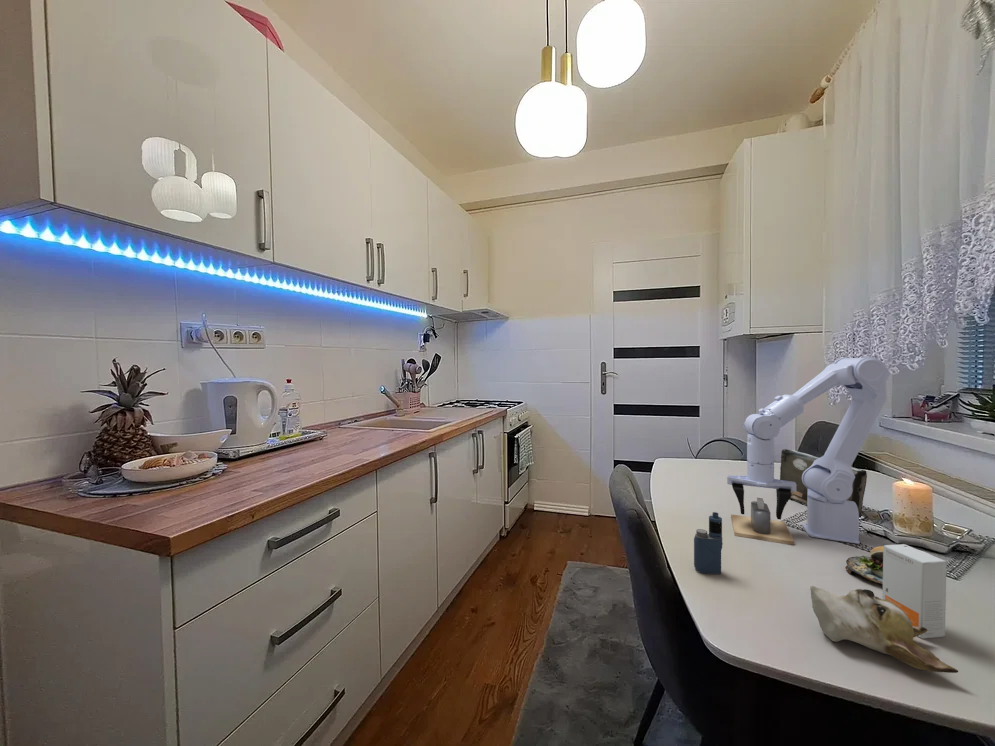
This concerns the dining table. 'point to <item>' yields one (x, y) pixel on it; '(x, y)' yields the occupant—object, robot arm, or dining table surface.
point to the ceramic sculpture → (873, 626)
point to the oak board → (777, 534)
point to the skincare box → (916, 586)
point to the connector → (760, 516)
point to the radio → (799, 462)
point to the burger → (868, 565)
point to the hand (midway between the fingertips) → (760, 515)
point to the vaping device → (709, 547)
